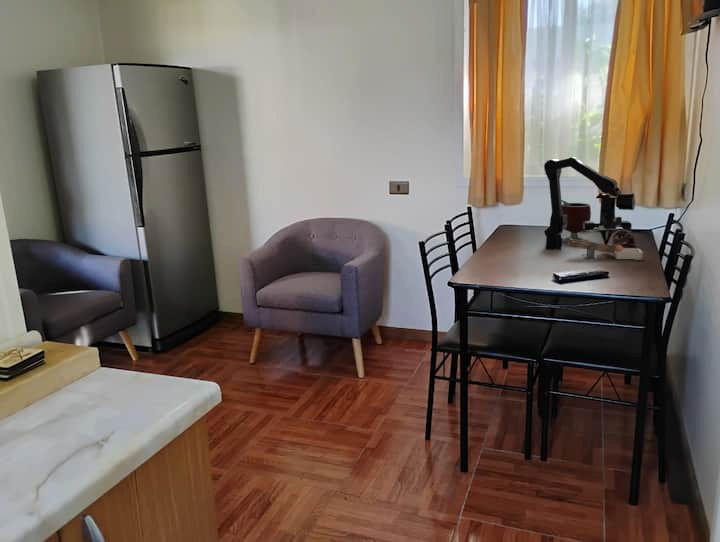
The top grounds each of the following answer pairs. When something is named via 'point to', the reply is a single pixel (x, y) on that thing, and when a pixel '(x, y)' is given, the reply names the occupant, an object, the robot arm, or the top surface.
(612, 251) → the tan flat board
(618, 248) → the ball
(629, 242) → the pottery mug
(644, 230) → the top surface
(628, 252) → the dish
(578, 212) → the mate gourd
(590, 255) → the fulcrum
